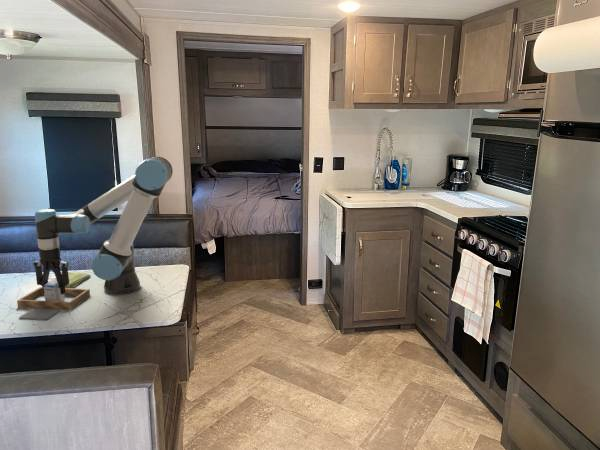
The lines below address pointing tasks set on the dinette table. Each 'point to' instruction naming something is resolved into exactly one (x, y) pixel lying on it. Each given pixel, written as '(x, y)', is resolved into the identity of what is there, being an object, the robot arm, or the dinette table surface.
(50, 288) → the medicine box
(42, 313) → the mat
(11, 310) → the dinette table surface
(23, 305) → the wooden frame
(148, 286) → the dinette table surface
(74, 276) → the washcloth
